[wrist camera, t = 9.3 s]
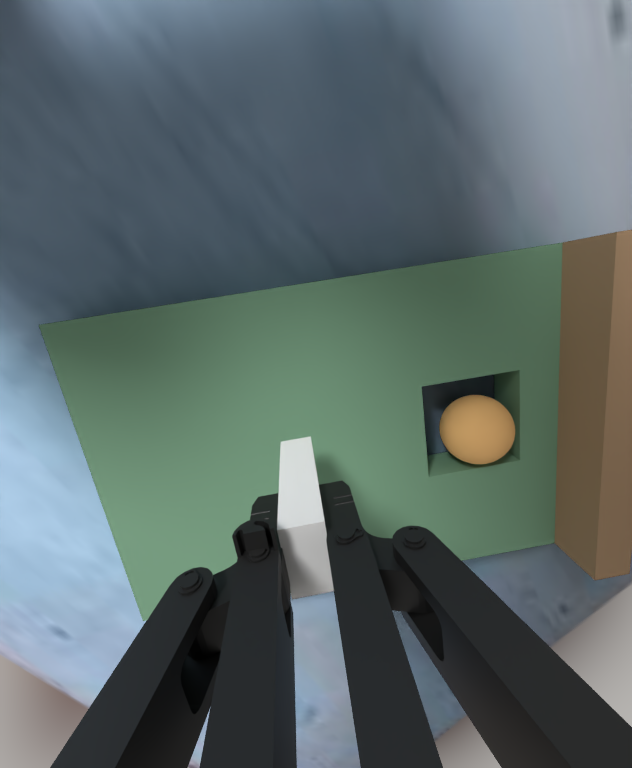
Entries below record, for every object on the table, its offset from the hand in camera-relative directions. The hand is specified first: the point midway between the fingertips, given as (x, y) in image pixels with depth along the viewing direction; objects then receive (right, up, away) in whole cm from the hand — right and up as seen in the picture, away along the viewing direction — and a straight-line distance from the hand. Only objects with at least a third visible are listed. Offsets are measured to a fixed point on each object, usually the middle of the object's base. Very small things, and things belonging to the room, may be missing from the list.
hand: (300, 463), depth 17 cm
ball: (+10, +1, +3) cm, 11 cm away
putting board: (+3, +1, +5) cm, 5 cm away
